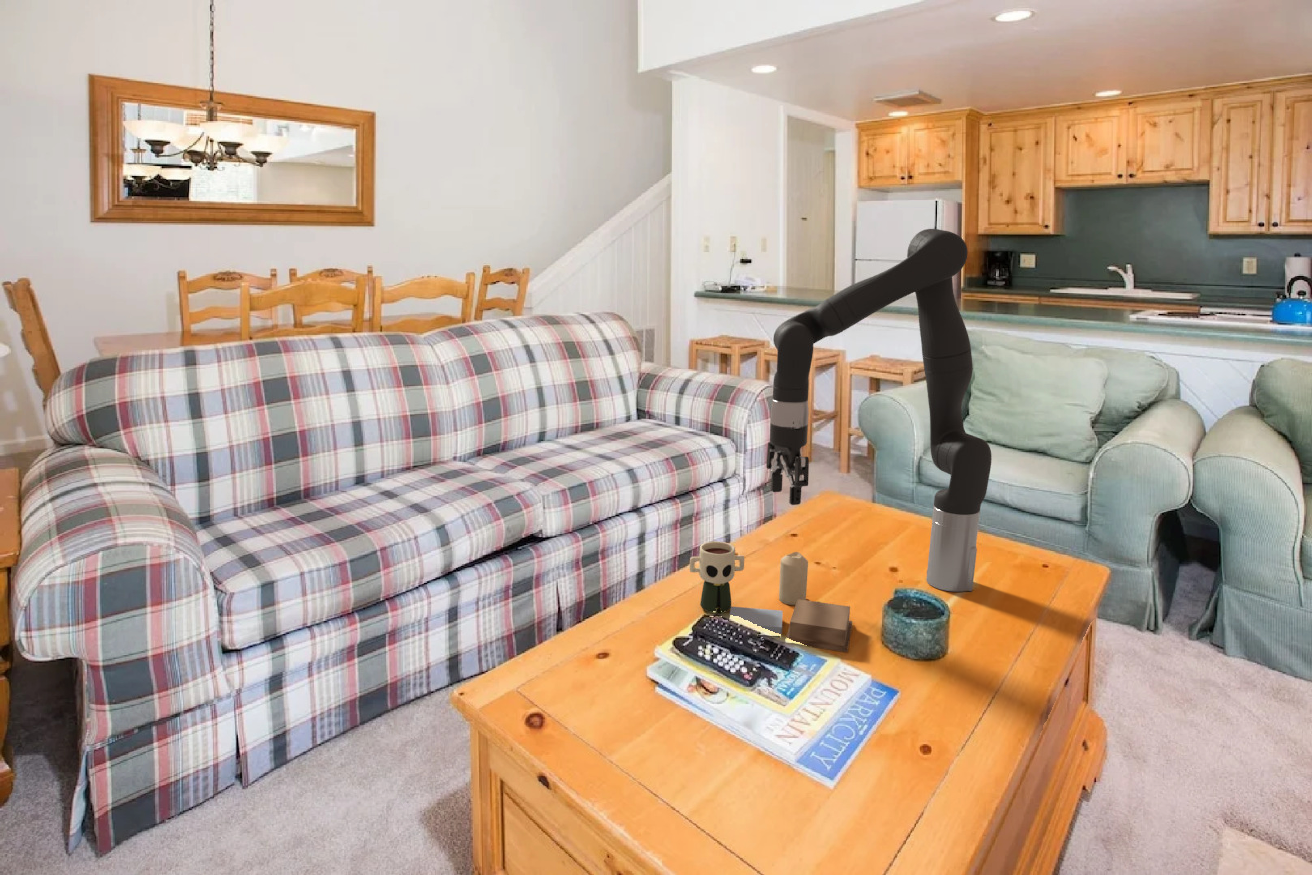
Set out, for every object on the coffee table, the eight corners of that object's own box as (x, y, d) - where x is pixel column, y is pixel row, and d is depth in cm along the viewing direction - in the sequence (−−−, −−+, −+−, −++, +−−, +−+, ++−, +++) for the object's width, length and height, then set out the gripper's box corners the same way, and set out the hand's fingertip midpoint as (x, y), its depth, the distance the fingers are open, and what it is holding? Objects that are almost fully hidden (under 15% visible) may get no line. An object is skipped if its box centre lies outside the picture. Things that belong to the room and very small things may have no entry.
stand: (852, 624, 155) (853, 605, 154) (847, 652, 145) (848, 632, 144) (793, 616, 158) (794, 597, 157) (785, 642, 148) (786, 622, 147)
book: (782, 620, 157) (782, 610, 156) (781, 637, 150) (781, 627, 150) (730, 615, 158) (731, 606, 158) (727, 632, 152) (728, 622, 151)
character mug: (691, 617, 157) (692, 555, 154) (686, 601, 164) (687, 541, 161) (746, 615, 159) (748, 553, 155) (738, 599, 165) (741, 540, 162)
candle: (787, 591, 169) (789, 547, 167) (810, 598, 166) (813, 553, 164) (773, 600, 165) (776, 554, 163) (797, 608, 162) (800, 561, 159)
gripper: (757, 415, 168) (754, 489, 172) (788, 430, 155) (784, 510, 159) (790, 413, 170) (786, 486, 174) (823, 428, 157) (818, 507, 161)
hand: (785, 497), depth 166 cm, fingers open, 8 cm apart
